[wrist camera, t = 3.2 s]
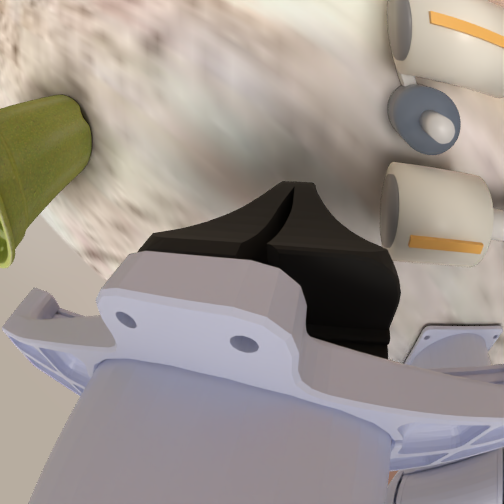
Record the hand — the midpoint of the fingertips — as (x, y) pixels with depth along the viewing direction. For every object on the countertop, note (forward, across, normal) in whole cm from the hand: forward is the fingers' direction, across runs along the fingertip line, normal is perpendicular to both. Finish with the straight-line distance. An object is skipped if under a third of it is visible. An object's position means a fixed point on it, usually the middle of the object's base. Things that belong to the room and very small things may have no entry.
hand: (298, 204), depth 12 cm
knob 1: (+2, -9, -7) cm, 12 cm away
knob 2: (+2, -9, 0) cm, 9 cm away
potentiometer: (+3, -5, -4) cm, 7 cm away
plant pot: (+3, +16, -4) cm, 16 cm away
